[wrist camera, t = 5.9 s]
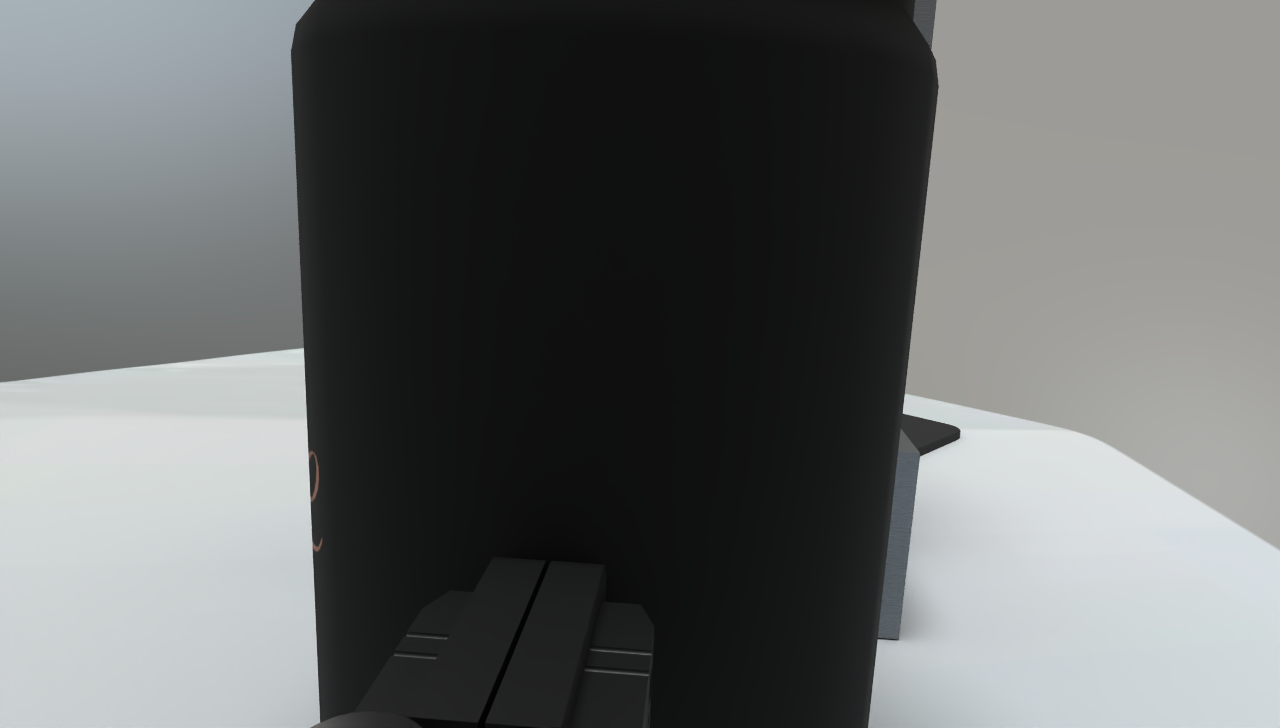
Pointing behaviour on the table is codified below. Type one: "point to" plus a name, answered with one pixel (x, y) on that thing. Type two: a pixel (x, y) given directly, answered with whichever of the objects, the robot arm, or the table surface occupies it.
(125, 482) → the table surface
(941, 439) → the phone
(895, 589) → the bracket
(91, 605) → the table surface
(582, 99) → the coffee jar
